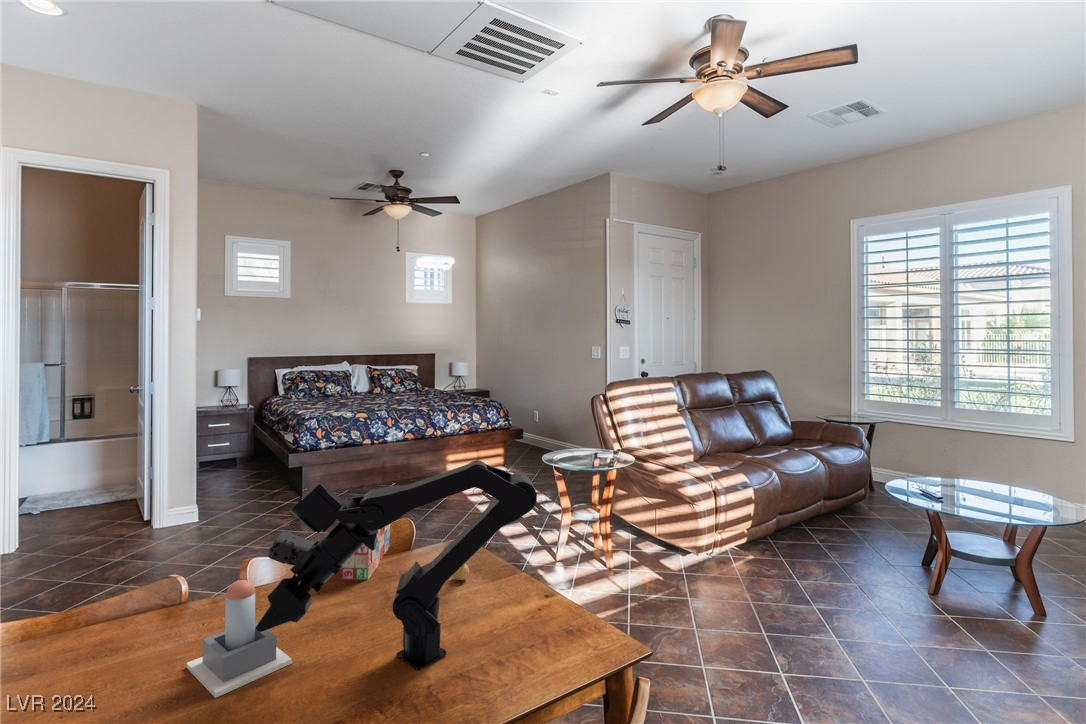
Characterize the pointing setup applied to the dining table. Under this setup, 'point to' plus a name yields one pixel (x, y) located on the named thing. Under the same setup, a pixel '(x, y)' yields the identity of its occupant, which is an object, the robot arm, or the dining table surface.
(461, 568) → the figurine
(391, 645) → the dining table surface
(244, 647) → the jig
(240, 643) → the copper-capped grey cylinder
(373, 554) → the stack of blocks
